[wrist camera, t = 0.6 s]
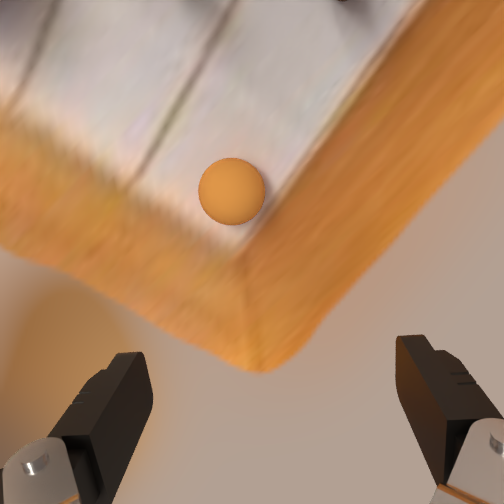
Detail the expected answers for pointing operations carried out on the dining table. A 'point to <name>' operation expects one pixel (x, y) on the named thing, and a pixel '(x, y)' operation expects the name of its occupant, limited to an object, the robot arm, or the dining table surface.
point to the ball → (231, 191)
